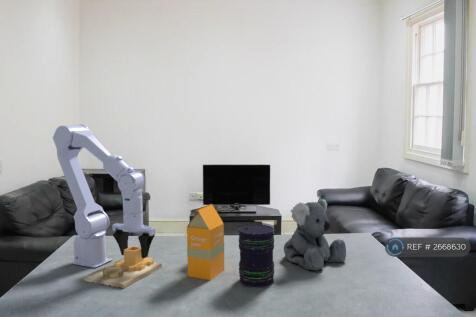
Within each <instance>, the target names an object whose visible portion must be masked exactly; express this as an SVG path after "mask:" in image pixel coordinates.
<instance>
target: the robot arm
mask: <svg viewBox="0 0 476 317" xmlns="http://www.w3.org/2000/svg"><path fill="white" fill-rule="evenodd" d="M53 133H54V134H53V136H52V140H53V142H54V145H55V147H56V155H57V156H56V157H57V160H58V162H59V163H58V164H59V165H60V168H61V170H62V174H64V175H63V176H64V178H65V180H66V183H67V186H68V188H69V191H70V193H71V197H72V198H73V201H74V203H75V206H76V211H75V213H74V215H73V219H74V228H75V232H76V233H77V235H76V237H75V238H74V241H73V257H74V259H73V260H74V261H73V262H72V265H77V266H83V267H88V268H94V269H96V268H98V267H100V266H103V265H105V264H107V263H109V262H111V261H113V258H110V257H107V248H106V247H107V246H106V233H107V229H108V228H109V226H110V223H111V222H110V217H109V216H108V214H107V213H106V212H105V211H104V208H103V206H101V205H100V204H98V203H96V202H95V200H94V197H93V194H92V192H91V190H90V189H91V188H90V186H89V184H88V182H87V178H86V176H85V174H84V171H83V169H82V167H81V164H80V161H79V158H78V155H79V154H80V152H81V151H82V150H83V149H85V150H87V152H89V153H90V154H92V155H93V156H94V157H95V158H96V159H97V160H98V161H100V162H101V163H102V167H103V170H105V172H106V173H108V174H109V175H110V176H111V177H112V178H113V179H114V180H115V181H116V182H117V187H118V189H119V191H120V192H121V197H122V209H123V210H122V214H123V217H122V218H123V223H118V222H116V223H113V224H112V227H111V228H112V231H114V232H113V233H112V236H113V238H114V239H115V242H116V243H117V245H118V248H119V250H120V254H121V256H124V250H125V249H127V248H129V235H130V233H132V234H133V233H134V234H140V235H139V236H138V237H137V240H138V241H139V247H141V256H142V258H147V257H149V256H148V255H149V252H150V248H151V245H152V242H153V241H154V238H155V235H156V234H157V233H156V227H154V226H149V225H145V224H144V212H143V210H144V209H143V188H144V187H145V185H146V177H145V175H144V174H143V173H142V171H140V170H135V169H134V168H133V167H132V166H130V165H128V164H127V163H126V162H125V161H124V160H123V159H124V158H123V157H122V156H121V155H117V154H111V153H110V151H108V149H106V147H104V145H103V144H102V143H101V142H100V141H99V140H98V139H97V138H96V137H95V136H94V133H93V131H92V130H91V129H89V127H88V126H86V125H85V124H76V125H60V126H57V127H56V129H55V132H53ZM141 234H142V235H141Z"/></svg>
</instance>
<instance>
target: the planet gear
mask: <svg viewBox="0 0 476 317" xmlns="http://www.w3.org/2000/svg"><path fill="white" fill-rule="evenodd" d="M123 258H124V260H122V261H119V260H117V262H116V261H115V267H122V268H124V269H128V271H134V270H136V271H138V270H143V269H145V266H147V265H152V264H154V262H155V261H154V258H153V257H149V256H148V257H146V258H142V256H141V246H136V245H132V246H128V248H127V249H125V250H124V255H123Z"/></svg>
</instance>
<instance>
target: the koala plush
mask: <svg viewBox="0 0 476 317" xmlns="http://www.w3.org/2000/svg"><path fill="white" fill-rule="evenodd" d="M327 208H328V203H327V201H326V199H323V198H320V199H318V200H317V201H315V202H313V201H310V202H306V203H303V202H298V203H296V204H295V205H294V206H293V207H292V209H291V210H290V213H291V218H292V220H293V221H294V222H295V223H296V226H297V227H296V229H295V230H294V233H293V234H292V235H291V237H290V238H289V239H288V240H287V241H286V242H285V243H284V245H283V253H284V256H285V258H286V259H287V261H289V262H290V263H292V264H298V265H299V267H301V268H304V269H306V270H309V271H315V272H316V271H317V272H318V271H321V269H323V268H324V265H325V264H324V262H329V263H343V262H345V261H346V257H347V248H346V247H347V246H346V242H345V241H344V239H339V238H338V239H335V240H333V241H332V242H331V244H330V245H329V243H328V240H327V238H326V237H325V236H324V235H325V234H326V233H327V232H328V231H329V230H330V229H331V225H330V222H329V219H328V216H327V213H326V211H327Z"/></svg>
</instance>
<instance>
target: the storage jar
mask: <svg viewBox="0 0 476 317" xmlns="http://www.w3.org/2000/svg"><path fill="white" fill-rule="evenodd" d="M274 232H275V229H274V227H273V226H270V225H266V224H265V225H264V224H246V225H243V226H240V227H239V229H238V233H239V234H238V249H239V261H238V262H239V263H238V272H239V274H238V275H239V284H240V285H242V286H244V287H248V288H252V289H253V288H254V289H255V288H256V289H257V288H258V289H260V288H266V287H271V286H272V285H273V284H274V282H275V279H274V278H275V277H274V276H275V262H274V249H275V236H274V235H275V234H274Z"/></svg>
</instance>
